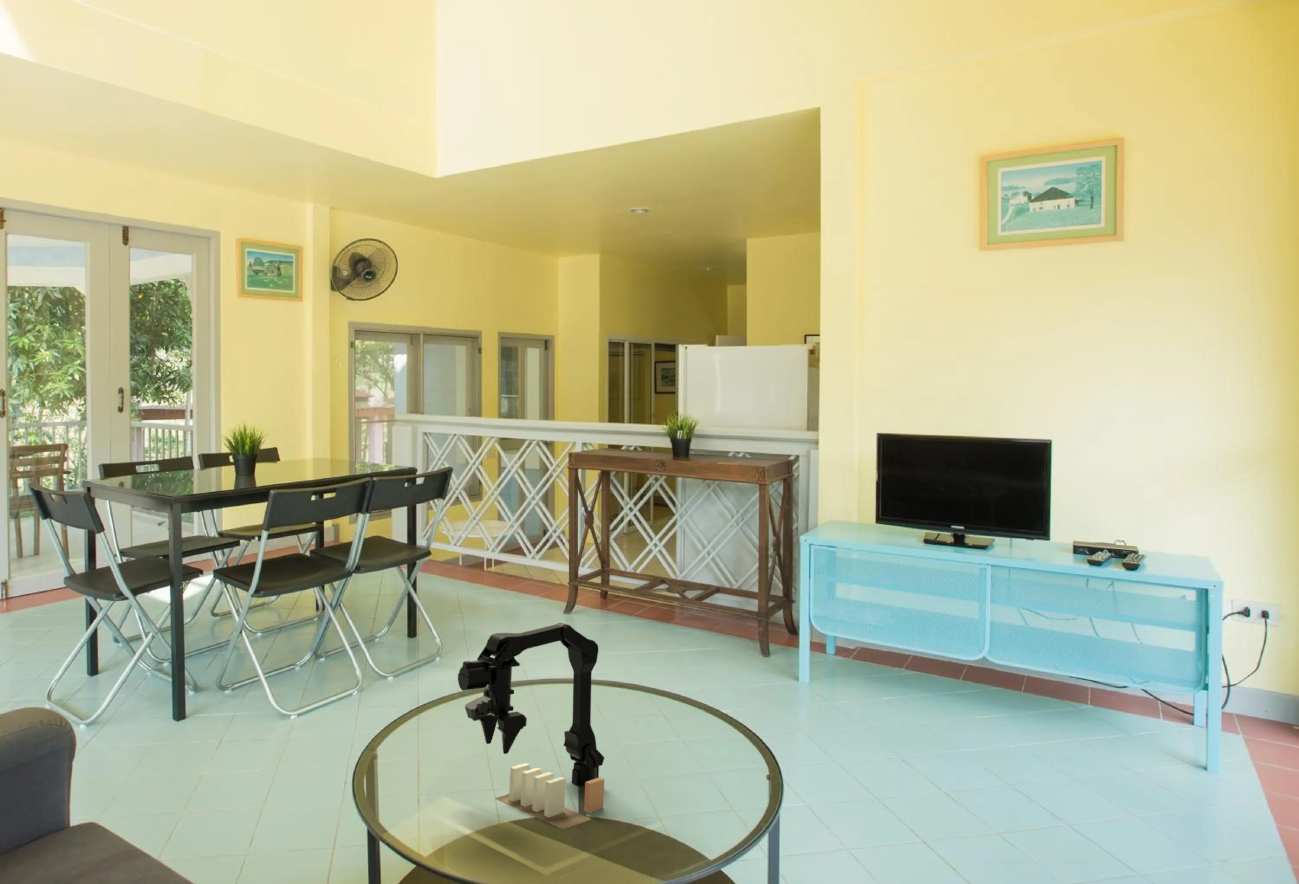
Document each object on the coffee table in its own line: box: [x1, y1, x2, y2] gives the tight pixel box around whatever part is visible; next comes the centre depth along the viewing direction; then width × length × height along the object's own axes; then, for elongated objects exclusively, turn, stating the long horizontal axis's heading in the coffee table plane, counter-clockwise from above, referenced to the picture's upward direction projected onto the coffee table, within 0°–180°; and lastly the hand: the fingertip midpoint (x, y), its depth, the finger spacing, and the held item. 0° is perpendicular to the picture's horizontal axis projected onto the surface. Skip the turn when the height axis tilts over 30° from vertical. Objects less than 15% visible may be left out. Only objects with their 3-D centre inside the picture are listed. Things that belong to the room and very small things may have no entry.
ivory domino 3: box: [532, 771, 554, 812], centre depth 199 cm, size 2×5×8 cm, turn 138°
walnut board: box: [494, 793, 592, 830], centre depth 199 cm, size 26×9×1 cm, turn 48°
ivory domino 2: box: [521, 767, 543, 807], centre depth 202 cm, size 2×5×8 cm, turn 138°
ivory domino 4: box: [544, 776, 567, 817], centre depth 196 cm, size 2×5×8 cm, turn 138°
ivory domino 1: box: [508, 762, 531, 801], centre depth 205 cm, size 2×5×8 cm, turn 138°
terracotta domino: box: [583, 776, 605, 814], centre depth 200 cm, size 2×5×8 cm, turn 138°
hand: (496, 748), depth 202 cm, fingers open, 9 cm apart
